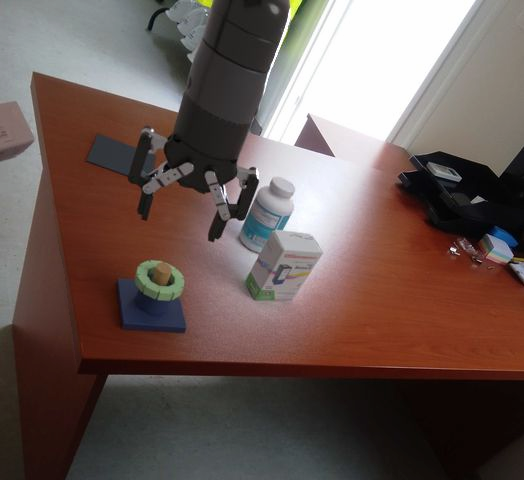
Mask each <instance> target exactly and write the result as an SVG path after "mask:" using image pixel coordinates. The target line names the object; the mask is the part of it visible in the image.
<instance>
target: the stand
mask: <svg viewBox="0 0 524 480" xmlns="http://www.w3.org/2000/svg"><path fill="white" fill-rule="evenodd" d="M166 263H167V262H165V263H164V262H163V263H158V264H157V265H156V267H155V270H154V273H153V274H151V275H149V276H148V278H149V279H150V281H151V282H153V283H155V284H157V285H159V286H167V287H169V286H170V285H172V283H171V282H170V281H169V277H170V275H171V272H172V268H171V267H170V266H169V265H170V264H169V263H167V264H166ZM168 264H169V265H168ZM134 280H135V279H127V278H120V277H118V278H117V279H116V293H117V301H118V308H119V315H120V322H121V329H122V330H133V331H147V332H150V331H151V332H162V333H176V334H177V333H179V334H185V333H186V331H187V323H186V319H185V318H186V317H185V315H184V311H183V307H182V302H181V298H180V296H179V297H177V298H175V299H174V300H171V299H170V301H164V300H157V297H156V299H153V298H151V297H149V296H147V295H145V294H143V292H144V291H143V292H141V291H140V290H139V288H138V287H137V285H136V284H135V281H134Z"/></svg>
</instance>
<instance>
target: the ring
mask: <svg viewBox="0 0 524 480" xmlns="http://www.w3.org/2000/svg"><path fill="white" fill-rule="evenodd" d="M158 263H166V264H168V265H169V266H170V267H171V268H172V272H171V275H170V277H169V281H170V282H171V283H172V285H170V286H169V287H167V286H159V285H157V284H155V283H153V282H151V281H150V279H149V278H148V276H149V275H151V274H153V273H154V270H155V267H156V265H157V264H158ZM134 275H135V276H134V279H133V280H134V281H135V284H136V285H137V287H138V288H139V290H140V291H141V292H143V291H144V292H143V294H145V295H147V296H149V297H151V298H153V299H156V297H157V300H164V301H170V299H171V300H174V299H175V298H177V297H179V298H180V296H181V295H182V294H183V291H184V289H185V277H184V276H183V274H182V272H180V270H179V269H176V266H173V265H171V264H170V263H167V262H165V261H164V262H163V261H162V260H154V259H149V260H146V261H144V262H141V263H139V265H138V266H137V267H136V271H135V274H134Z"/></svg>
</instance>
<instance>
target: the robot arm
mask: <svg viewBox="0 0 524 480" xmlns="http://www.w3.org/2000/svg"><path fill="white" fill-rule="evenodd" d="M290 18H291V1H290V0H212V3H211V6H210V9H209V12H208V16H207V20H206V23H205V27H204V31H203V34H202V38H201V39H200V42H199V46H198V48H197V49H196V52H195V54H194V56H193V60H192V62H191V66H190V70H189V73H188V76H187V78H186V81H185V87H184V91H183V95H182V98H181V101H180V105H179V109H178V113H177V116H176V119H175V122H174V126H173V129H172V132H171V134H170V135H169V136H168V137H165V136H162V135H160V134H158V133H156V132H154V129H153V127H151V126H150V125H144V126H142V129H141V133H140V136H139V139H138V142H137V145H136V147H135V148H136V152H135V155H134V158H133V161H132V165H131V168H130V172H129V175H128V176H127V180H128V182H129V184H131V185H136V186H138V187H139V188H140V190H141V194H140V197H139V202H138V204H137V205H138V206H137V209H136V210H137V215H140V216H141V218H140V220H142V221H145V222H148V219H149V215H150V211H151V208H152V205H153V201H154V197H155V193H156V191H158V190H159V189H161V188H166V187H168V186H170V185H171V184H173V183H174V182H176V183H178V186H179V187H182V188H185V189H186V188H187V189H193V190H194V191H196V192H197V193H199V194H202V195H206V194H211V197H212V199H213V202H214V205H215V206H216V212H215V214H214V217H213V220H212V221H211V225H210V226H209V230H208V233H207V242H210V243H215V240H220V238H222V236H223V233H224V231H225V229H226V226H227V224H228V222H229V221H230V220H233V219H234V220H235V219H236V220H237V221H239V222H244V221H245V219H246V217H247V215H248V213H249V211H250V208H251V206H252V204H253V201H254V198H255V196H256V195H255V194H256V193H257V189H258V187H259V184H260V177H259V169H258V168H257V167H256V166H251V167H249V168H246V167H244V166H243V167H242V166H239V165H238V161H239V158H240V155H241V153H242V150H243V147H244V146H245V143H246V140H247V138H248V136H249V133H250V131H251V128H252V126H253V123H254V120H255V118H256V117H257V116H258V114H259V111H260V105H261V103H262V100H263V98H264V95H265V92H266V88H267V83H268V79H269V76H270V73H271V70H272V68H273V66H274V62H275V60H276V58H277V56H278V52H279V50H280V48H281V45H282V42H283V39H284V37H285V35H286V32H287V29H288V25H289V22H290ZM158 150H163V154H164V157H165V159H166V161H164V162H162V163H161V164H160V165H159V166H158V167H157V168H155V169H153V171H152V172H151V173H149V174H147V173H145V172H144V171H143V170H142V169H143V166H144V163H145V160H146V157H147V154H154V155H156V153H157V151H158ZM235 178H237V180H238V186H239V188H240V192H239V195H238V198H237V201H236V203H230V199H229V197H228V194H227V191H226V186H225V185H227V184H228V183H229V182H232V181H233V180H234V179H235Z"/></svg>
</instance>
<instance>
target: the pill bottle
mask: <svg viewBox="0 0 524 480" xmlns="http://www.w3.org/2000/svg"><path fill="white" fill-rule="evenodd" d="M295 193H296V186H295V185H294V183H292V182H291V181H289V180H288V179H286V178H284V177H282V176H273V177H272V178H271V180H270V182H269V185H264V186H262V187H260V188H259V189H258V191H257V192H256V195H255V196H254V198H253V201H252V203H251V205H250V208H249V211H248V213H247V216H246V218H245V220H244V221H243V224H242V227H241V229H240V231H239V239H240V241H241V243H242V245H244V247H246V248H248V249H249V250H251V251H252V252H255V253H257V254H260V252H261V251H262V249H263V247H264V245H265V243H266V241H267V240H268V238H269V236H270V234H271V232H272V231H275V230H284V229H285V228H286V226H287V224H288V222H289V220H290V218H291V216H292V214H293V212H294V210H295V202H294V199H293V198H292V197H293V196H294V194H295Z"/></svg>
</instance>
